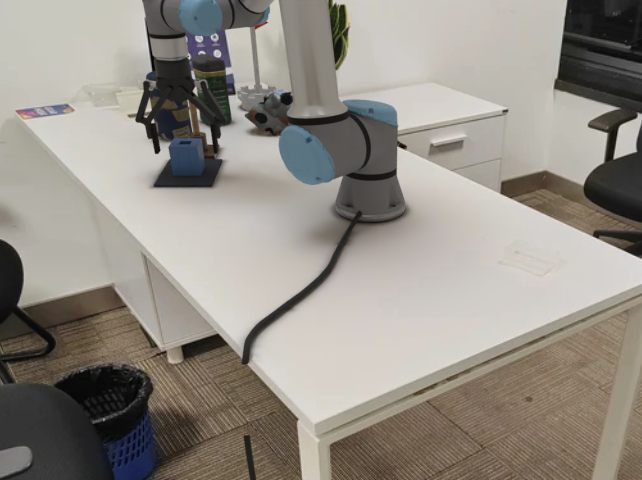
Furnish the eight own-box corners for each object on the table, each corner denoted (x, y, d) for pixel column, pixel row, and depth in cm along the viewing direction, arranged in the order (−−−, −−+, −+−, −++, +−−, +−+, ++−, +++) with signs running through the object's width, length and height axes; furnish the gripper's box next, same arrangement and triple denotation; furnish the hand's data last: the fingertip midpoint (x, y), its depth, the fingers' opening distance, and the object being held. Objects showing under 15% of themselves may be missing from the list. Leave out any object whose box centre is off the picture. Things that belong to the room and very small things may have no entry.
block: (201, 175, 164) (196, 146, 160) (173, 175, 163) (168, 146, 160) (205, 166, 170) (201, 138, 166) (178, 166, 169) (173, 138, 165)
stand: (215, 160, 176) (206, 97, 167) (178, 159, 175) (168, 97, 166) (220, 148, 183) (212, 88, 174) (185, 148, 182) (175, 88, 173)
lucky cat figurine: (269, 119, 207) (289, 77, 200) (297, 142, 204) (318, 101, 198) (235, 115, 194) (255, 71, 187) (264, 140, 191) (286, 96, 185)
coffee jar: (236, 123, 202) (228, 56, 192) (211, 128, 198) (201, 59, 188) (221, 116, 208) (213, 50, 198) (196, 120, 204) (186, 53, 194)
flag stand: (232, 110, 214) (219, 3, 197) (248, 100, 225) (237, -2, 208) (272, 113, 212) (263, 6, 196) (286, 103, 223) (278, 1, 206)
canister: (200, 136, 191) (190, 68, 181) (173, 144, 184) (161, 74, 174) (177, 130, 195) (165, 63, 185) (149, 137, 188) (136, 68, 178)
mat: (211, 186, 160) (211, 184, 160) (153, 187, 159) (153, 184, 158) (222, 161, 175) (222, 158, 175) (169, 161, 174) (169, 158, 173)
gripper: (230, 54, 157) (242, 146, 168) (117, 53, 154) (137, 147, 166) (226, 60, 150) (238, 156, 162) (107, 60, 148) (129, 157, 159)
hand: (187, 152), depth 164 cm, fingers open, 13 cm apart
